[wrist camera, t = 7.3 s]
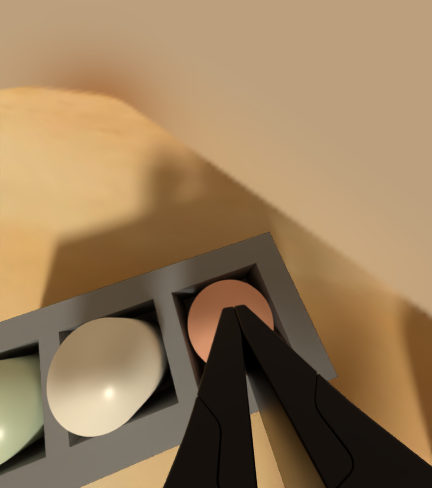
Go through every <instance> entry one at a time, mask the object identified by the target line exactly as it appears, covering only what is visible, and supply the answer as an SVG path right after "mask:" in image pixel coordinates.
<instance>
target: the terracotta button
mask: <svg viewBox="0 0 432 488" xmlns="http://www.w3.org/2000/svg"><path fill="white" fill-rule="evenodd" d="M242 304H244V305H246V306H247V307H248V308H249V309H250V310H251V311H253V312H254V313H255V314H256V315H257V316H258V317H259V318H260V319H261V320H262V321H263V322H264V323H265V324H267V325H268V326H269V327H270V328H271V329H272V330H274V323H273V316H272V312H271V309H270V307H269V305H268V303H267V301H266V300H265V298H264V297H263V296H262V294H261V293H260V292H259V291H258V290H256V289H255V288H254V287H252V286H251V285H249V284H247V283H244V282H242V281H238V280H222V281H218V282H215V283H213V284H211V285H209V286H207V287H206V288H205V289H203V290H202V291H201V292H200V293H199V294H198V296H197V297H196V298H195V300H194V302H193V304H192V306H191V308H190V312H189V316H188V333H189V337H190V340H191V343H192V345H193V347H194V349H195V351H196V352H197V354H198V355H199V356H200V357H201V358H202V359H203V360H204V361H205V362H207V359H208V355H209V352H210V349H211V345H212V342H213V339H214V335H215V332H216V328H217V325H218V322H219V318H220V315H221V312H222V309H223V308H225V307H231V306H233V307H234V306H236V305H242Z"/></svg>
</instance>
